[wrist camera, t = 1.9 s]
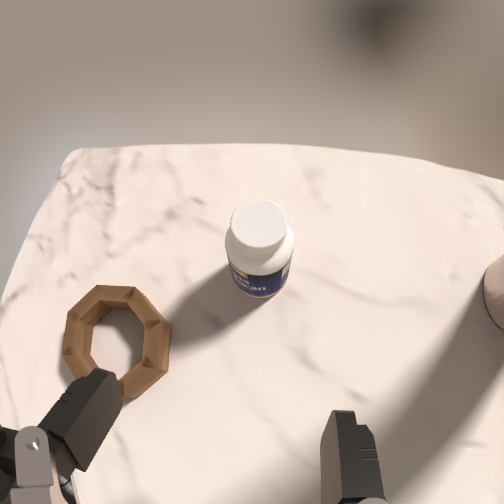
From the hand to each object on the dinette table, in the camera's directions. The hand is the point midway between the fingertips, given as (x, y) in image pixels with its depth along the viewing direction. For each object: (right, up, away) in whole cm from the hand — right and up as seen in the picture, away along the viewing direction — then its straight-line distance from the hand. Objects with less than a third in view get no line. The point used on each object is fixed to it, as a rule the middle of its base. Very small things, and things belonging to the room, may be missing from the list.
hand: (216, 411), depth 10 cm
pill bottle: (+2, +3, +20) cm, 21 cm away
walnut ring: (-12, -3, +18) cm, 21 cm away
